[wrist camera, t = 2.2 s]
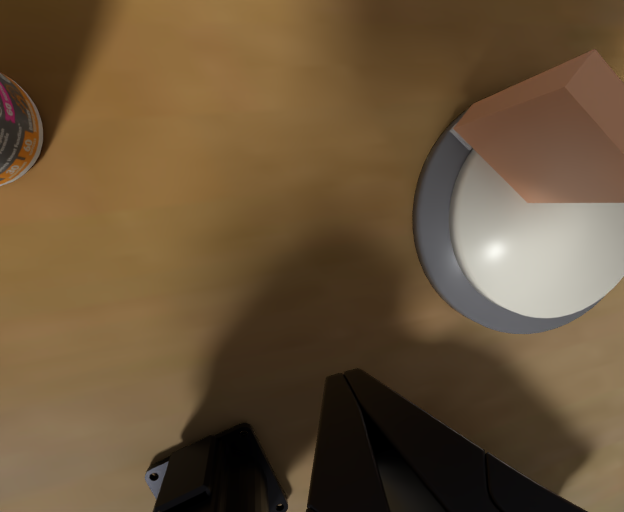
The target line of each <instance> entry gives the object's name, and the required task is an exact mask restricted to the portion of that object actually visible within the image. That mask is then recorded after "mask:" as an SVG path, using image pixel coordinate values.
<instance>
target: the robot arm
mask: <svg viewBox="0 0 624 512" xmlns="http://www.w3.org/2000/svg"><path fill="white" fill-rule="evenodd" d="M241 431H247V432H248V433H246V434H244V435H243V434H241V433H240V432H241ZM152 473H157V474H158V475H157V476H154V475H152ZM145 480H146V482H147V484H148V486H149V487H150V489H151V491H152V493H153V494H154V496H155V498H156V503H155V506H154V509H153V512H286V511H287V509H288V502H287V498H286V496H285V494H284V492H283V490H282V488H281V486H280V484H279V482H278V480H277V478H276V476H275V473H274V471H273V469H272V467H271V465H270V463H269V461H268V459H267V457H266V455H265V453H264V451H263V449H262V447H261V445H260V443H259V441H258V439H257V437H256V435H255V433H254V430H253V428H252V427H251V425H250V424H248V423H241V424H239V425H237V426H234V427H232V428H230V429H228V430H226V431H224V432H222V433H219V434H217V435H215V436H212V435H210V436H208V437H206V438H204V439H202V440H200V441H197V442H195V443H193V444H191V445H189V446H187V447H185V448H182V449H180V450H178V451H176V452H174V453H172V454H171V456H170V457H168V458H166V459H164V460H162V461H159V462H157V463H155V464H153V465H151V466H150V467H149V468H148V469H147V472H146V474H145ZM278 504H282V505H281V506H277V505H278ZM307 508H308V509H306V512H587V511H585V510H584V509H582V508H580V507H578V506H576V505H574V504H573V503H571V502H569V501H567V500H566V499H564V498H562V497H560V496H559V495H557V494H555V493H553V492H552V491H550V490H548V489H546V488H545V487H543V486H541V485H539V484H538V483H536V482H534V481H533V480H531V479H530V478H528V477H526V476H525V475H523V474H521V473H520V472H518V471H517V470H515V469H513V468H512V467H510V466H509V465H507V464H506V463H504V462H502V461H501V460H499V459H498V458H496V457H495V456H493V455H492V454H490V453H486V454H485V451H484V450H483V449H482V448H480V447H479V446H477V445H475V444H474V443H472V442H471V441H469V440H468V439H466V438H465V437H463V436H462V435H460V434H459V433H457V432H456V431H454V430H453V429H451V428H450V427H448V426H447V425H445V424H443V423H442V422H440V421H439V420H437V419H436V418H434V417H433V416H431V415H430V414H428V413H427V412H425V411H424V410H422V409H421V408H419V407H418V406H416V405H415V404H413V403H411V402H410V401H408V400H407V399H405V398H404V397H402V396H401V395H399V394H398V393H396V392H395V391H393V390H392V389H390V388H389V387H387V386H386V385H384V384H383V383H381V382H380V381H378V380H376V379H375V378H373V377H372V376H370V375H369V374H367V373H366V372H364V371H363V370H361V369H359V368H357V369H353V370H349V371H346V372H344V374H342V373H338V374H334V375H331V376H328V377H326V380H325V387H324V394H323V401H322V408H321V414H320V421H319V428H318V435H317V442H316V448H315V455H314V462H313V469H312V476H311V482H310V489H309V496H308V503H307Z"/></svg>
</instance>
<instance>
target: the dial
mask: <svg viewBox="0 0 624 512" xmlns="http://www.w3.org/2000/svg"><path fill="white" fill-rule="evenodd" d="M453 129H454V130H455V131H456V132H457V133H458V134H459V135H460V136H461V137H462V138H463V139H464V140H465V141H466V142H467V143H468V144H469V145H470V146H471V147H472V148H473V149H472V151H471V152H470V154H469V155H468V157H467V158H466V160H465V162H464V164H463V166H462V167H461V169H460V171H459V174H458V177H457V179H456V182H455V184H454V188H453V192H452V196H451V202H450V209H449V231H450V240H451V244H452V248H453V252H454V255H455V258H456V260H457V263H458V265H459V267H460V269H461V271H462V273H463V275H464V276H465V277H466V279H467V280H468V281H469V283H470V284H471V285H472V286H473V287H474V288H475V289H476V290H477V291H478V292H479V293H480V294H481V295H482V296H484V297H485V298H486V299H488V300H489V301H491V302H493V303H494V304H496V305H498V306H500V307H503V308H505V309H508V310H510V311H513V312H515V313H518V314H521V315H524V316H529V317H534V318H555V317H562V316H566V315H570V314H573V313H575V312H578V311H581V310H583V309H585V308H587V307H588V306H590V305H592V304H594V303H595V302H597V301H598V300H600V299H601V298H602V297H604V296H605V295H606V294H607V293H608V292H609V291H610V290H612V289H613V288H614V287H615V285H616V284H617V283H618V282H619V281H620V280H621V279H622V278H623V276H624V83H623V82H622V81H621V80H620V78H619V77H618V76H617V75H616V74H615V72H614V71H613V70H612V69H611V67H610V66H609V65H608V64H607V63H606V61H605V60H604V59H603V58H602V57H601V55H600V54H599V53H598V52H597V50H596V49H593V50H591V51H589V52H587V53H585V54H582V55H580V56H578V57H576V58H573V59H571V60H569V61H567V62H565V63H562V64H560V65H558V66H556V67H553V68H551V69H549V70H547V71H545V72H542V73H540V74H538V75H536V76H533V77H531V78H529V79H527V80H525V81H522V82H520V83H518V84H516V85H513V86H511V87H509V88H507V89H505V90H502V91H500V92H498V93H496V94H494V95H491V96H489V97H487V98H485V99H482V100H480V101H478V102H476V103H474V104H472V105H471V107H470V108H469V109H468V110H467V112H466V113H465V114H464V115H463V117H462V118H461V119H460V120H459V122H458V123H457V124H456V125H455V127H454V128H453Z"/></svg>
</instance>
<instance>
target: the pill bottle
mask: <svg viewBox="0 0 624 512" xmlns="http://www.w3.org/2000/svg"><path fill="white" fill-rule="evenodd" d="M42 143H43V127H42V121H41V118H40V115H39V111H38V109H37V107H36V106H35V104H34V102H33V101H32V100H31V98H30V97H29V95H28V94H27V93H26V92H25V91H24V90H23V89H22V88H21V87H20V86H19V85H18V84H17V83H16V82H15V81H13V80H12V79H11V78H9V77H8V76H6V75H5V74H3V73H1V72H0V186H1V185H4V184H8V183H11V182H13V181H15V180H17V179H18V178H20V177H21V176H23V175H24V174H25V173H26V172H27V171H28V170H29V169H30V168H31V167H32V166H33V165H34V163H35V162H36V160H37V158H38V156H39V154H40V151H41V147H42Z"/></svg>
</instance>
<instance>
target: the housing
mask: <svg viewBox="0 0 624 512" xmlns="http://www.w3.org/2000/svg"><path fill="white" fill-rule="evenodd" d="M468 109H469V108H468ZM468 109H467V110H468ZM467 110H465V111H464V112H463V113H462V114H461V115H459V116H458V117H457V118H456V119H455V120H454V121H453V122H452V123H451V124H450V125H449V126H448V127H447V128H446V130H445V131H444V132H443V133H442V134H441V136H440V137H439V138H438V140H437V141H436V143H435V144H434V146H433V147H432V149H431V151H430V153H429V155H428V157H427V159H426V161H425V163H424V165H423V168H422V171H421V173H420V176H419V179H418V182H417V187H416V191H415V195H414V204H413V235H414V242H415V247H416V251H417V254H418V258H419V261H420V264H421V266H422V268H423V271H424V273H425V275H426V277H427V278H428V280H429V282H430V283H431V285H432V287H433V288H434V289H435V291H436V292H437V293H438V294H439V296H440V297H441V298H442V299H443V300H444V301H445V302H446V303H447V304H448V305H449V306H451V307H452V308H453V309H455V310H456V311H457V312H459V313H460V314H462V315H463V316H465V317H467V318H469V319H471V320H473V321H475V322H477V323H479V324H481V325H483V326H485V327H487V328H490V329H493V330H497V331H500V332H506V333H512V334H531V333H539V332H544V331H548V330H552V329H555V328H558V327H560V326H562V325H565V324H567V323H569V322H571V321H573V320H575V319H576V318H578V317H580V316H582V315H583V314H584V313H586V312H587V311H588V310H590V309H591V308H593V307H594V306H595V305H596V304H597V303H598V302H599V301H600V300H601V299H602V298H603V297H602V298H601V299H600V300H598V301H597V302H595V303H594V304H592V305H590V306H588V307H587V308H585V309H583V310H581V311H578V312H575V313H573V314H570V315H566V316H562V317H555V318H534V317H529V316H524V315H521V314H518V313H515V312H513V311H510V310H508V309H505V308H503V307H500V306H498V305H496V304H494V303H493V302H491V301H489V300H488V299H486V298H485V297H484V296H482V295H481V294H480V293H479V292H478V291H477V290H476V289H475V288H474V287H473V286H472V285H471V284H470V283H469V281H468V280H467V279H466V277H465V276H464V275H463V273H462V271H461V269H460V267H459V265H458V263H457V260H456V258H455V255H454V252H453V248H452V244H451V240H450V231H449V209H450V202H451V196H452V192H453V188H454V184H455V182H456V179H457V177H458V174H459V171H460V169H461V167H462V166H463V164H464V162H465V160H466V158H467V157H468V155H469V154H470V152H471V151H472V149H473V148H472V147H471V146H470V145H469V144H468V143H467V142H466V141H465V140H464V139H463V138H462V137H461V136H460V135H459V134H458V133H457V132H456V131H455V130H454V129H453V128H454V127H455V125H456V124H457V123H458V122H459V120H460V119H461V118H462V117H463V115H464V114H465V113H466V112H467Z"/></svg>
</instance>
